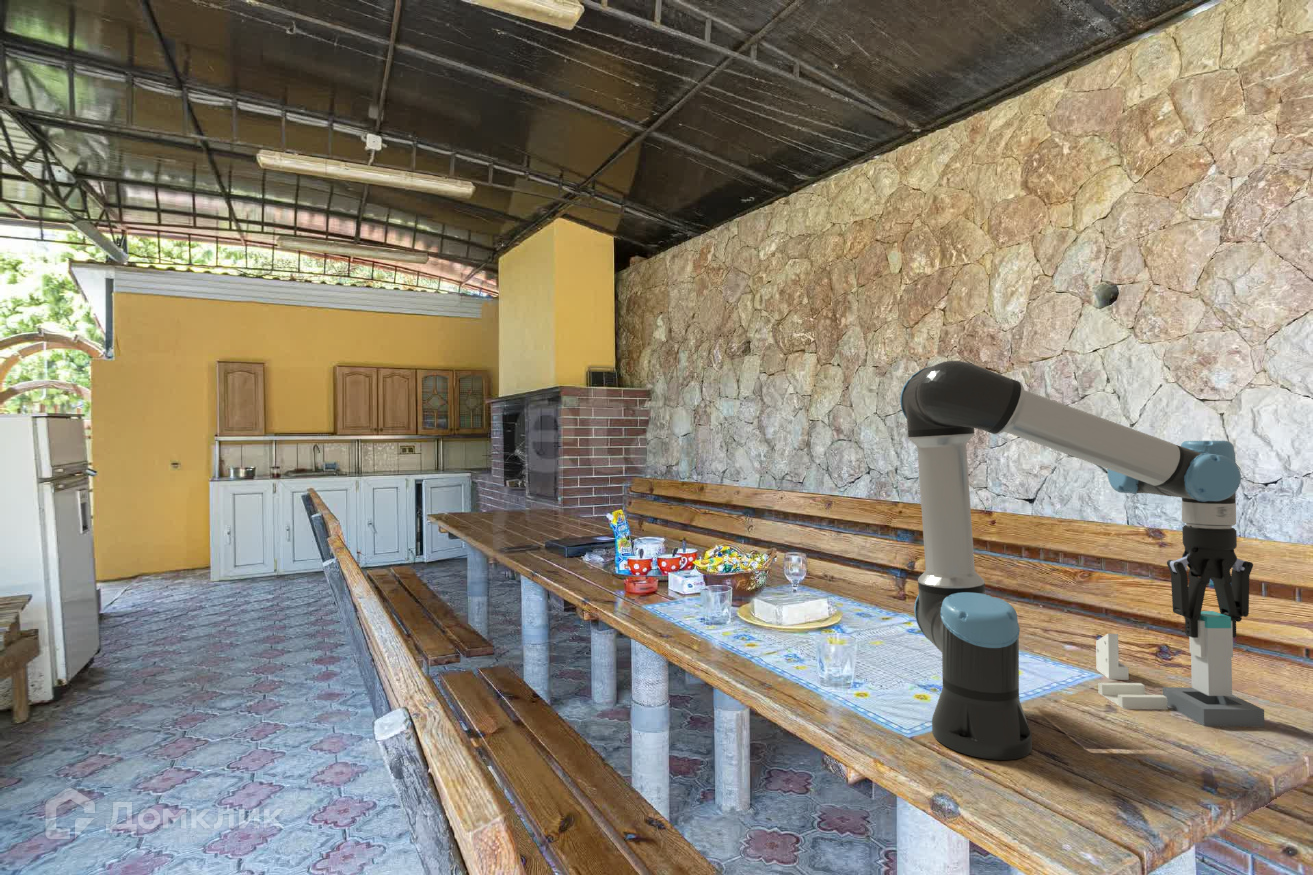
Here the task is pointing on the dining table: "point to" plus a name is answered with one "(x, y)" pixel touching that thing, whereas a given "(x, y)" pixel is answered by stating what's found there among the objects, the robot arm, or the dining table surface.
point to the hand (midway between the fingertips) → (1211, 654)
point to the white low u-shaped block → (1131, 696)
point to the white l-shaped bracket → (1110, 658)
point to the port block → (1214, 708)
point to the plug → (1214, 657)
